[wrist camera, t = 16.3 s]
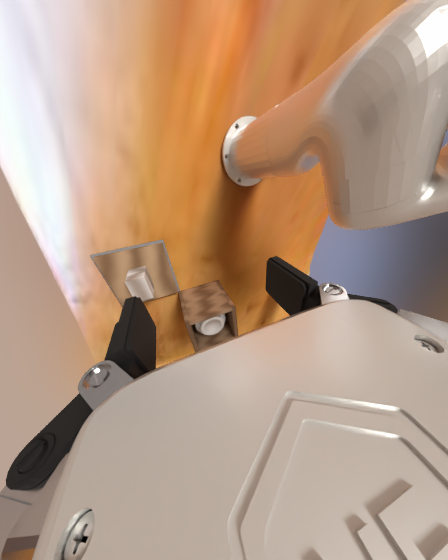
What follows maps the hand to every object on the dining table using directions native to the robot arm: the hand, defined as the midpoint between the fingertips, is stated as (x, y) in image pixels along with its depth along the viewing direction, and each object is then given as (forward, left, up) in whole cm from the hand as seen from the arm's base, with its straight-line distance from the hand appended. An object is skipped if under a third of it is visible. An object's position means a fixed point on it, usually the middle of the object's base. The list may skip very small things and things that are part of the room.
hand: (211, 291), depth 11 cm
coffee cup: (-2, +28, -33) cm, 43 cm away
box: (-2, +28, -33) cm, 43 cm away
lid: (+12, +13, -32) cm, 37 cm away
